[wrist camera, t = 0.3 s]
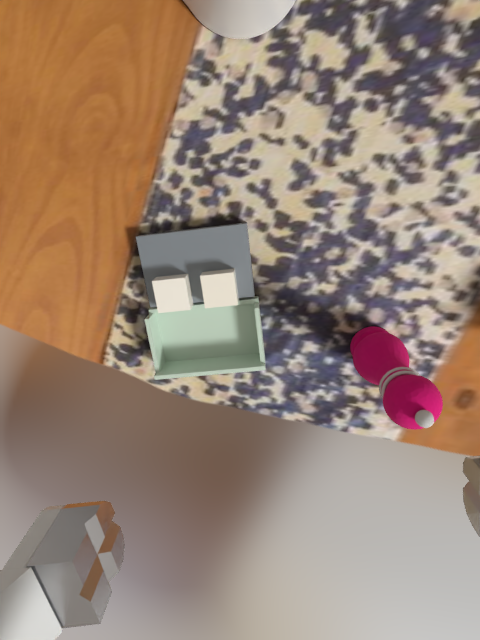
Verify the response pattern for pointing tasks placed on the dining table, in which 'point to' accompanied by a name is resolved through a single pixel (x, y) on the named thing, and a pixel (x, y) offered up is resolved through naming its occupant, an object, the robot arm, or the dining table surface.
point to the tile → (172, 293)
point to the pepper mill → (395, 378)
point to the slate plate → (197, 256)
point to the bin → (206, 340)
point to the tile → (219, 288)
